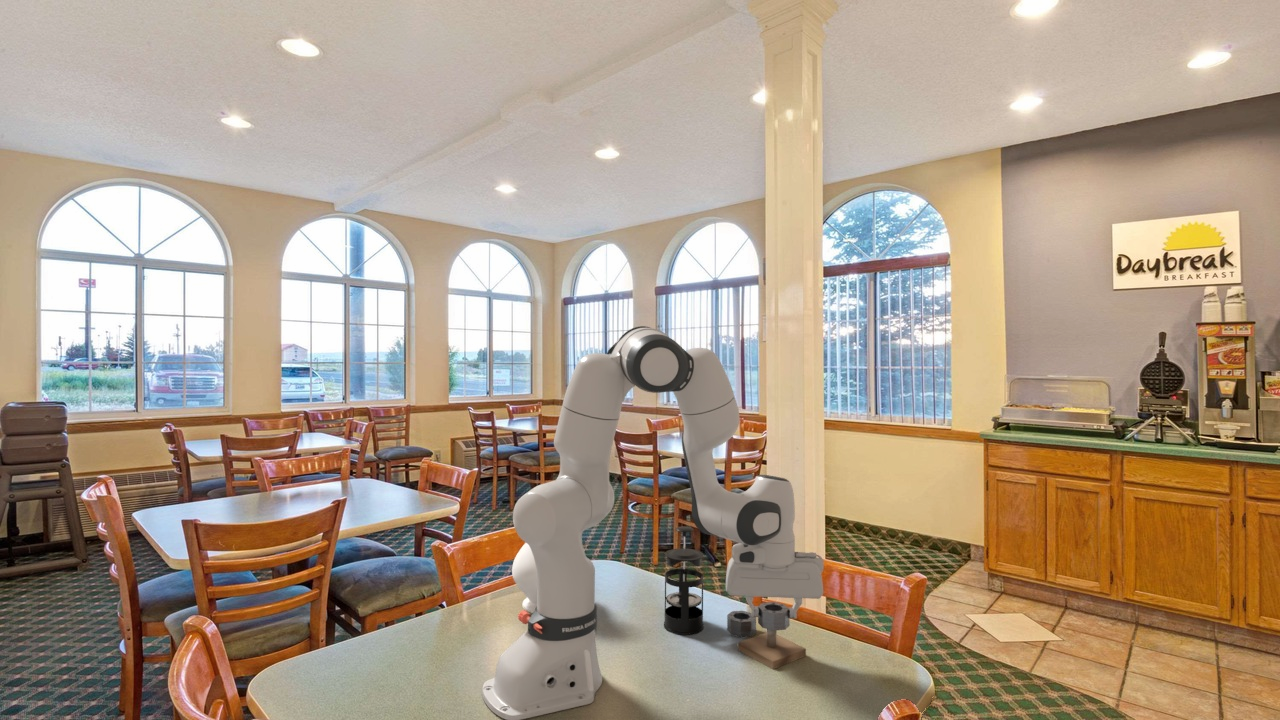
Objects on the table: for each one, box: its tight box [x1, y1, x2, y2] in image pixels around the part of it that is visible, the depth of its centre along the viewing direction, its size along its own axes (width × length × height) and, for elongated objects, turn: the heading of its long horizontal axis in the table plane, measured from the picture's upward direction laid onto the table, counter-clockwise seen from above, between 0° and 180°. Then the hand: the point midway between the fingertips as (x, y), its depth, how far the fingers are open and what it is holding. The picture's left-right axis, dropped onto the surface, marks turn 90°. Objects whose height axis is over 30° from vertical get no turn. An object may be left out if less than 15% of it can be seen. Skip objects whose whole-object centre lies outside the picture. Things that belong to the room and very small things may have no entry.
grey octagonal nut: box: [757, 601, 791, 632], centre depth 127 cm, size 6×6×4 cm
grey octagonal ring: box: [726, 610, 757, 638], centre depth 138 cm, size 6×6×4 cm
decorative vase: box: [511, 542, 537, 614], centre depth 153 cm, size 18×18×25 cm
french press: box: [663, 526, 705, 636], centre depth 141 cm, size 12×9×23 cm
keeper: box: [737, 629, 807, 670], centre depth 128 cm, size 10×10×8 cm
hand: (773, 616), depth 127 cm, fingers closed on grey octagonal nut, 6 cm apart
